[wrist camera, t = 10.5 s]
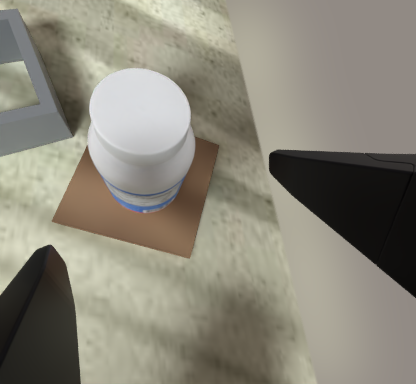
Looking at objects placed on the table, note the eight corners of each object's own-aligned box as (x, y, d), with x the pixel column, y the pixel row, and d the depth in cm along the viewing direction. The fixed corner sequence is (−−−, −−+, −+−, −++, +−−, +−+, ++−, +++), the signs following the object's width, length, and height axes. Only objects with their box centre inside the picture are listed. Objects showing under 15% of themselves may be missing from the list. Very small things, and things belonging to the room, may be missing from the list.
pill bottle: (125, 139, 19) (107, 30, 10) (188, 164, 20) (223, 83, 11) (95, 201, 17) (39, 135, 8) (165, 225, 18) (185, 190, 9)
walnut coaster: (188, 258, 18) (189, 258, 18) (54, 222, 17) (51, 221, 16) (217, 148, 22) (219, 145, 21) (107, 109, 20) (106, 105, 20)
